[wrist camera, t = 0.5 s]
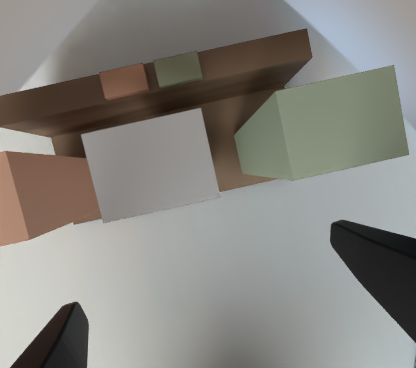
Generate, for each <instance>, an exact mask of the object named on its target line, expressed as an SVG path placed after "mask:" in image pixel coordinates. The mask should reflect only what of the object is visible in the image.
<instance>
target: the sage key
mask: <svg viewBox="0 0 416 368" xmlns="http://www.w3.org/2000/svg"><path fill="white" fill-rule="evenodd" d="M234 138H235V142H236V147H237V152H238V157H239V161H240V166H241V171H242V174H247V175H255V176H262V177H270V178H277V179H284V180H292V181H294V180H299V179H303V178H308V177H312V176H316V175H321V174H325V173H330V172H334V171H339V170H343V169H348V168H352V167H357V166H361V165H366V164H370V163H374V162H379V161H383V160H388V159H392V158H397V157H401V156H406V155H409V151H408V145H407V139H406V133H405V127H404V122H403V116H402V110H401V104H400V98H399V93H398V86H397V80H396V75H395V68H394V65H392V66H388V67H383V68H379V69H374V70H370V71H365V72H361V73H356V74H351V75H347V76H342V77H338V78H333V79H329V80H324V81H320V82H315V83H311V84H306V85H302V86H297V87H293V88H288V89H284V90H279V91H275V92H274V93H273V94H272V95H271V96H270V98H269V99H268V100H267V101H266V102H265V103H264V104H263V105H262V106H261V107H260V108H259V109H258V110H257V111H256V112H255V113H254V115H253V116H252V117H251V118H250V119H249V120H248V121H247V122H246V123H245V124H244V125H243V126H242V127H241V128H240V129H239V130H238V131H237V133H236V134H235V135H234Z"/></svg>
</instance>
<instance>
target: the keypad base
mask: <svg viewBox="0 0 416 368" xmlns="http://www.w3.org/2000/svg"><path fill="white" fill-rule="evenodd" d="M311 58H312V53H311V48H310V42H309V37H308V32H307V28H306V29H302V30H297V31H293V32H288V33H284V34H279V35H275V36H270V37H265V38H261V39H256V40H252V41H247V42H243V43H238V44H234V45H229V46H225V47H220V48H215V49H211V50H206V51H202V52H197V51H195V52H191V53H186V54H181V55H177V56H172V57H168V58H163V59H159V60H154V62H152V63H147V64H143V63H141V64H136V65H131V66H127V67H122V68H118V69H113V70H109V71H104V72H100V73H99V74H97V75H93V76H88V77H84V78H79V79H74V80H70V81H65V82H61V83H56V84H52V85H47V86H43V87H38V88H33V89H29V90H24V91H20V92H15V93H11V94H6V95H2V96H0V127H1V128H6V129H11V130H16V131H21V132H26V133H31V134H36V135H41V136H46V137H50V138H51V139H52V143H53V147H54V150H55V154H56V156H67V157H78V158H87V157H86V153H85V149H84V145H83V141H82V137H81V134H85V133H90V132H94V131H99V130H103V129H108V128H112V127H117V126H121V125H126V124H130V123H135V122H139V121H144V120H148V119H153V118H157V117H162V116H166V115H171V114H175V113H180V112H184V111H189V110H193V109H198V108H201V111H202V116H203V120H204V125H205V129H206V134H207V138H208V143H209V147H210V152H211V156H212V161H213V166H214V170H215V175H216V179H217V184H218V188H219V192H222V191H226V190H231V189H235V188H240V187H244V186H249V185H253V184H258V183H262V182H266V181H271V180H275V179H277V178H270V177H262V176H255V175H247V174H242V171H241V166H240V161H239V157H238V152H237V147H236V142H235V138H234V135H235V134H236V133H237V131H238V130H239V129H240V128H241V127H242V126H243V125H244V124H245V123H246V122H247V121H248V120H249V119H250V118H251V117H252V116H253V115H254V113H255V112H256V111H257V110H258V109H259V108H260V107H261V106H262V105H263V104H264V103H265V102H266V101H267V100H268V99H269V98H270V96H271V95H272V94H273V93H274V92H275V91H279V90H284V85H285V84H286V83H287V82H288V81H289V80H290V79H291V78H292V77H293V76H294V75H295V74H296V73H297V72H298V71H299V70H300V69H301V68H302V67H303V66H304V65H305V64H306V63H307V62H308V61H309V60H310V59H311ZM101 218H102V216H101V212H100V211H98V212H96V213H93V214H91V215H89V216H86V217H84V218H81V219H79V220H76V221H74V222H73V223H74V225H75V224H79V223H83V222H88V221H92V220H97V219H101Z"/></svg>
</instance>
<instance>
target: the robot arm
mask: <svg viewBox="0 0 416 368" xmlns="http://www.w3.org/2000/svg"><path fill="white" fill-rule="evenodd" d="M330 242H331V245H332V247H333V248H334V250H335V251H336V252H337V254H338V255H339V256H340V258H341V259H342V260H343V261H344V263H345V264H346V265H347V267H348V268H349V269H350V271H351V272H352V273H353V275H354V276H355V277H356V278H357V279H358V281H359V282H360V283H361V284H362V285H363V286H364V288H365V289H366V290H367V291H368V292H369V293H370V294H371V295H372V296H373V297H374V298H375V299H376V301H377V302H378V303H379V304H380V305H381V306H382V307H383V308H384V309H385V310H386V311H387V312H388V314H389V315H390V316H391V317H392V318H393V319H394V320H395V321H396V322H397V323H398V324H399V325H400V326H401V328H402V329H403V330H404V331H405V332H406V333H407V334H408V335H409V336H410V337H411V338H412V339H413V341H414V342H415V343H416V239H415V238H411V237H408V236H404V235H400V234H396V233H392V232H388V231H384V230H381V229H377V228H373V227H369V226H365V225H361V224H358V223H354V222H350V221H346V220H339V221H336V222H333V223H332V224H331V234H330ZM88 332H89V323H88V319H87V317H86V315H85V313H84V311H83V309H82V307H81V305H80V304H79V303H78V302H73V303H69V304H66V305H64V306H62V307H61V308H60V310H59V311H58V312H57V313H56V314H55V315H54V317H53V318H52V319H51V320H50V321H49V322H48V324H47V325H46V326H45V327H44V328H43V329H42V331H41V332H40V333H39V334H38V335H37V337H36V338H35V339H34V340H33V341H32V342H31V344H30V345H29V346H28V347H27V348H26V349H25V351H24V352H23V353H22V354H21V355H20V356H19V358H18V359H17V360H16V361H15V362H14V364H13V365H12V366H11V367H10V368H87V356H88Z"/></svg>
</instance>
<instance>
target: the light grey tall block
mask: <svg viewBox="0 0 416 368" xmlns="http://www.w3.org/2000/svg"><path fill="white" fill-rule="evenodd" d="M81 137H82V141H83V145H84V149H85V153H86V157H87V161H88V165H89V169H90V173H91V177H92V181H93V184H94V188H95V192H96V196H97V200H98V204H99V208H100V212H101V216H102V220H103V223H107V222H111V221H116V220H120V219H125V218H129V217H134V216H138V215H143V214H147V213H151V212H156V211H160V210H165V209H169V208H174V207H178V206H183V205H187V204H192V203H196V202H200V201H205V200H209V199H214V198H218V197H220V193H219V188H218V184H217V179H216V175H215V170H214V166H213V161H212V156H211V152H210V147H209V143H208V138H207V134H206V129H205V125H204V120H203V116H202V111H201V108H198V109H193V110H189V111H184V112H180V113H175V114H171V115H166V116H162V117H157V118H153V119H148V120H144V121H139V122H135V123H130V124H126V125H121V126H117V127H112V128H108V129H103V130H99V131H94V132H90V133H85V134H81Z"/></svg>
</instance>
